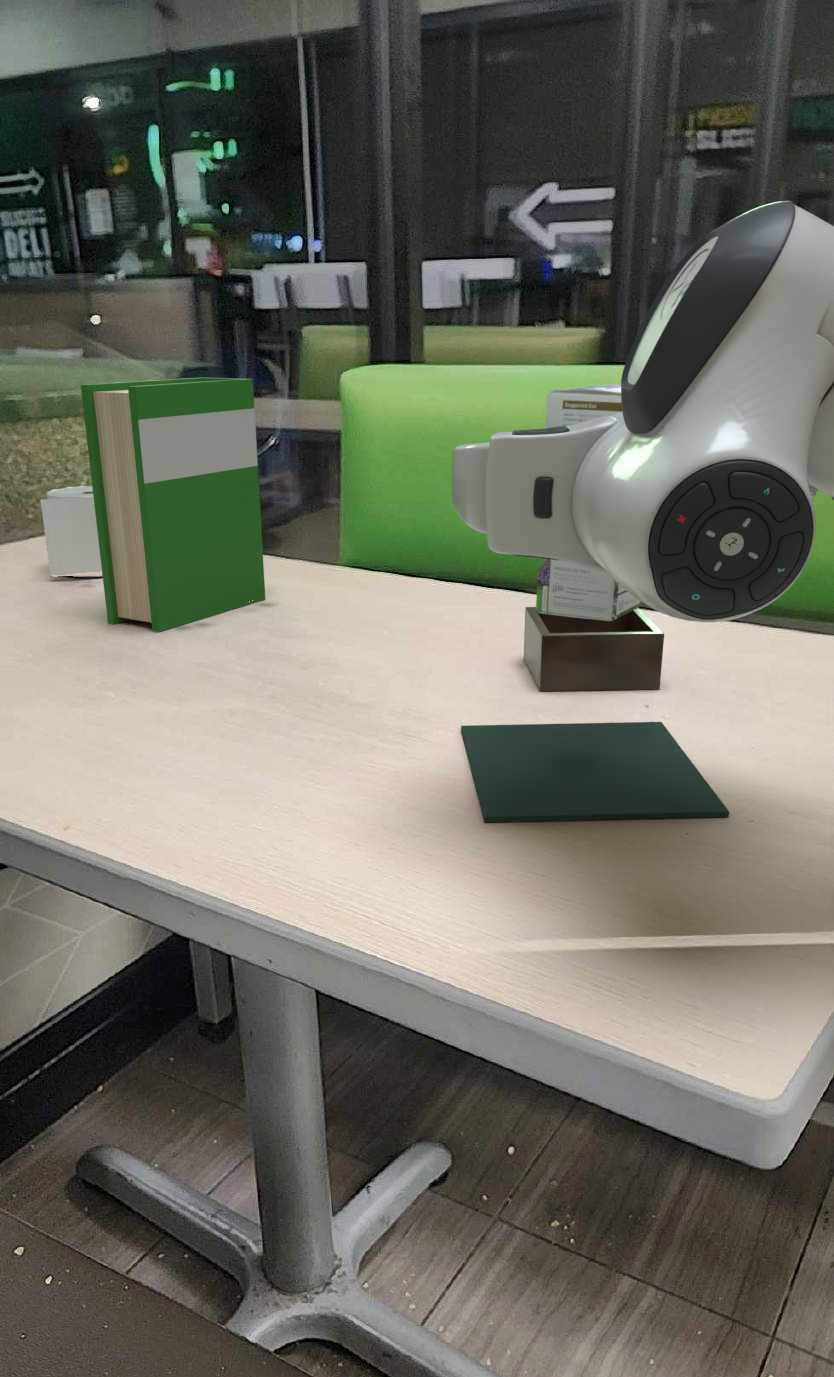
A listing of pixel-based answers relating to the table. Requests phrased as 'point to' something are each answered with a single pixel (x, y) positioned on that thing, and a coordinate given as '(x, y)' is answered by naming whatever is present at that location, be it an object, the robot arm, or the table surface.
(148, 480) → the hardback book
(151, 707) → the table surface
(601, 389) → the syrup box
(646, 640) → the box
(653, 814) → the mat
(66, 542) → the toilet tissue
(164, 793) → the table surface
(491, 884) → the table surface
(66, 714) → the table surface
